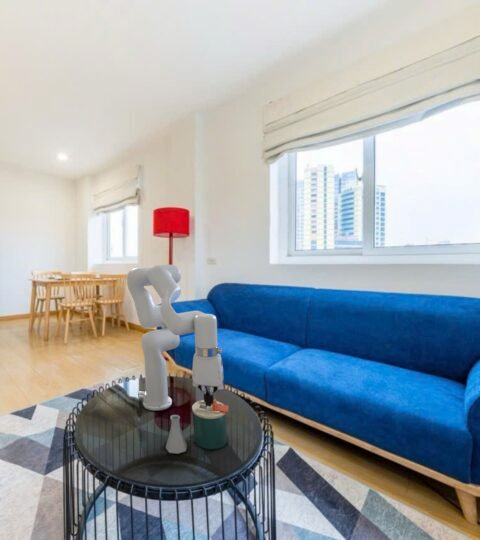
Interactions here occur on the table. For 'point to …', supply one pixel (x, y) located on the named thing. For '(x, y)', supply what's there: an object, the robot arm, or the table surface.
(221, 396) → the table surface
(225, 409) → the slider
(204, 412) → the sliding lid canister
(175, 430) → the flask
